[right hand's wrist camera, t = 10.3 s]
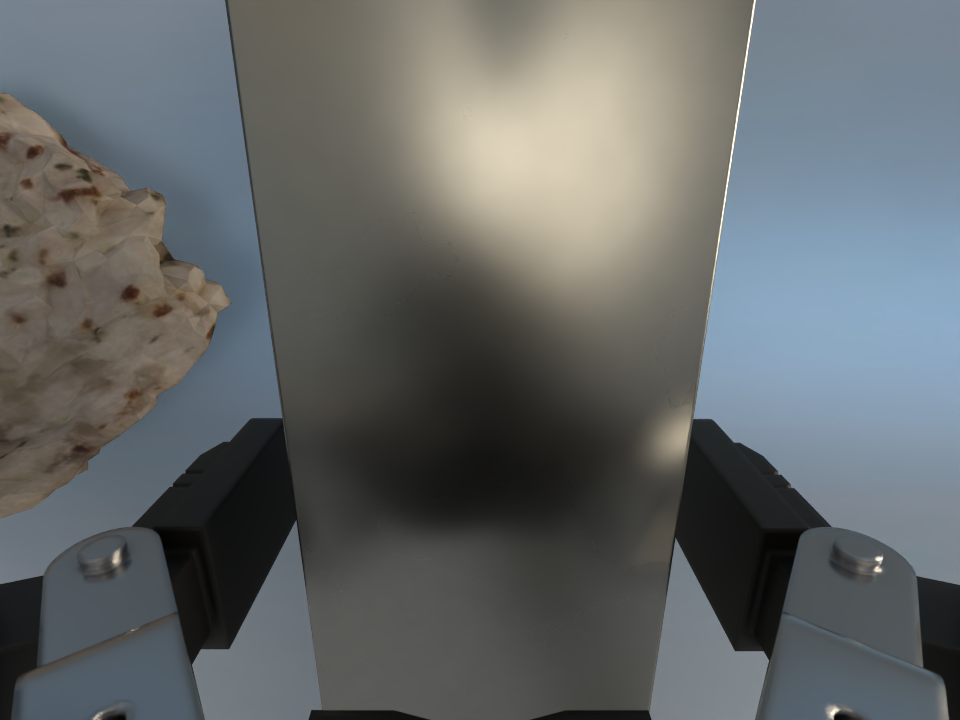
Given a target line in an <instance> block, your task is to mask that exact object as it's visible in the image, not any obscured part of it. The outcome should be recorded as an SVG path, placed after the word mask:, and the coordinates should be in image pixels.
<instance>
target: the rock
mask: <svg viewBox="0 0 960 720" xmlns="http://www.w3.org/2000/svg"><path fill="white" fill-rule="evenodd" d="M165 207H166V203H165V200H164V197H163V195H161V194H159V193H157V192H155V191H153V190H151V189H149V188H144V189H140V190H135V191H130V190H129V189H128V187H127V186H126V183H125V181H124V180H123V179H122V177H121V176H120V175H118V174H116V173H115V172H113V171H111V170H110V169H108V168H106V167H105V166H103V165H101V164H99V163H98V162H96V161H94V160H93V159H91V158H89V157H87V156H85V155H83V154H81V153H79V152H77V151H75V150H74V149H72V148H70V147H69V146H68V145H67V143H66V142H65V140H64V139H63V137H62V136H61V135H60V134H59V133H58V132H57V131H56V130H55V129H53V128H52V127H51V126H50V125H49V124H48V123H47V122H46V121H45V120H44V119H42V118H41V117H40V116H39V115H38V114H37V113H36V112H34V111H32V110H29V109H28V108H27V107H25V106H24V105H23V104H21V103H20V102H19V101H17V100H16V99H14V98H13V97H12V96H10V95H9V94H0V518H3V517H6V516H9V515H12V514H15V513H18V512H21V511H24V510H28V509H31V508H33V507H34V506H36V505H37V504H38V503H40V502H41V501H42V500H44V499H45V498H46V497H48V496H49V495H50V494H51V493H52V492H53V491H54V490H56V489H57V488H59V487H61V486H63V485H65V484H67V483H68V482H69V481H70V480H71V479H72V478H73V477H75V476H76V475H78V474H80V473H82V472H84V471H86V470H88V460H90V459H91V458H92V457H94V456H95V455H97V454H98V453H99V452H100V448H101V447H103V446H104V445H106V444H107V443H109V442H110V441H112V440H114V439H115V438H117V437H118V436H119V435H121V434H122V433H123V432H124V431H126V430H127V429H128V428H130V427H131V426H132V425H133V424H135V423H136V422H137V421H139V420H140V419H141V418H142V417H143V416H145V415H146V414H147V413H148V412H149V411H150V410H152V409H153V408H154V407H155V406H156V398H157V397H158V394H160V393H162V392H164V391H166V390H168V389H170V388H171V387H173V386H175V385H177V384H178V383H179V382H180V381H181V380H182V378H183V377H184V376H185V375H186V373H187V372H188V371H189V370H190V369H191V367H192V366H193V365H194V364H195V363H196V361H197V360H198V359H199V358H200V357H201V356H202V355H203V353H204V352H205V351H206V350H207V348H208V345H209V343H210V340H211V338H212V335H213V331H214V328H215V324H216V319H217V313H219V312H220V311H221V310H223V309H224V308H225V307H227V306H229V305H230V304H232V303H231V302H230V300H229V298H228V297H227V295H226V293H225V291H224V290H223V288H222V286H221V285H219V284H218V283H216V282H215V281H210V280H205V277H204V273H203V271H202V269H201V268H200V267H199V266H197V265H193V264H190V263H186V262H182V261H178V260H174V259H173V258H172V256H171V255H170V253H169V251H168V250H167V248H166V247H165V245H164V244H163V243H162V236H163V225H164V215H165Z"/></svg>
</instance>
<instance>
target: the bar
mask: <svg viewBox="0 0 960 720" xmlns="http://www.w3.org/2000/svg"><path fill="white" fill-rule="evenodd" d="M225 2H226V9H227V17H228V24H229V31H230V39H231V46H232V53H233V60H234V68H235V75H236V82H237V90H238V97H239V104H240V112H241V119H242V126H243V133H244V141H245V148H246V155H247V163H248V170H249V177H250V184H251V192H252V199H253V206H254V214H255V221H256V228H257V236H258V243H259V250H260V257H261V265H262V272H263V279H264V287H265V294H266V301H267V309H268V316H269V323H270V330H271V338H272V345H273V352H274V360H275V367H276V374H277V381H278V389H279V396H280V403H281V411H282V418H283V425H284V433H285V440H286V447H287V454H288V462H289V469H290V476H291V484H292V491H293V498H294V506H295V513H296V520H297V527H298V535H299V542H300V549H301V557H302V564H303V571H304V578H305V586H306V593H307V600H308V608H309V615H310V622H311V630H312V637H313V644H314V651H315V659H316V666H317V673H318V681H319V688H320V695H321V703H322V710H395V711H399V712H403V713H407V714H410V715H414V716H418V717H422V718H425V719H429V720H531V719H535V718H538V717H542V716H546V715H550V714H553V713H557V712H561V711H565V710H648V711H649V710H650V704H651V697H652V690H653V684H654V677H655V670H656V664H657V657H658V650H659V644H660V637H661V630H662V623H663V617H664V610H665V603H666V597H667V590H668V583H669V577H670V570H671V563H672V557H673V550H674V543H675V537H676V530H677V523H678V517H679V510H680V503H681V496H682V490H683V483H684V476H685V470H686V463H687V456H688V450H689V443H690V436H691V430H692V423H693V416H694V410H695V403H696V396H697V389H698V383H699V376H700V369H701V363H702V356H703V349H704V343H705V336H706V329H707V323H708V316H709V309H710V303H711V296H712V289H713V283H714V276H715V269H716V262H717V256H718V249H719V242H720V236H721V229H722V222H723V216H724V209H725V202H726V196H727V189H728V182H729V176H730V169H731V162H732V156H733V149H734V142H735V135H736V129H737V122H738V115H739V109H740V102H741V95H742V89H743V82H744V75H745V69H746V62H747V55H748V49H749V42H750V35H751V29H752V22H753V15H754V8H755V2H756V0H225Z"/></svg>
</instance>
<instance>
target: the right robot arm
mask: <svg viewBox="0 0 960 720" xmlns="http://www.w3.org/2000/svg"><path fill="white" fill-rule="evenodd" d="M295 521H296V513H295V506H294V498H293V491H292V484H291V476H290V469H289V462H288V454H287V447H286V440H285V433H284V425H283V418H252V419H250V420H249V421H248V422H247V423H246V424H245V426H244V427H243V428H242V429H241V430H240V431H239V432H238V433H237V434H236V435H235V437H234V438H233V439H232V440H231V441H230V442H223V443H221V444H219V445H217V446H216V447H214V448H212V449H210V450H209V451H207V452H205V453H203V454H202V455H200V456H199V457H198V458H197V459H196V460H195V461H194V462H193V464H192V465H191V466H190V467H189V468H188V469H187V470H186V473H185V474H182V475H181V476H180V477H179V478H178V479H177V480H176V481H175V482H174V483H173V487H169V489H168V490H167V491H166V492H165V493H164V494H163V495H162V496H161V497H160V498H159V499H158V500H157V501H156V502H155V503H154V504H153V505H152V506H151V507H150V508H149V509H148V510H147V511H146V512H145V513H144V515H143V516H142V517H141V518H140V519H139V520H138V521H137V522H136V523H135V524H134V525H133V526H132V527H125V528H118V529H113V530H109V531H106V532H102V533H99V534H96V535H94V536H91V537H89V538H87V539H84V540H82V541H80V542H78V543H77V544H75V545H73V546H71V547H70V548H68V549H67V550H65V551H64V552H63V553H61V554H60V555H59V556H58V557H57V558H55V559H54V560H53V561H52V563H51V564H50V565H49V566H48V568H47V569H46V571H45V573H44V576H39V577H34V578H29V579H24V580H19V581H14V582H10V583H5V584H0V720H205V718H204V714H203V710H202V705H201V701H200V697H199V693H198V688H197V684H196V680H195V676H194V672H193V668H192V664H193V662H194V660H195V658H196V657H197V655H198V653H199V651H200V650H201V649H230V647H231V645H232V643H233V641H234V639H235V637H236V635H237V633H238V631H239V629H240V627H241V625H242V623H243V622H244V620H245V618H246V616H247V614H248V612H249V610H250V608H251V606H252V604H253V602H254V600H255V598H256V596H257V594H258V593H259V591H260V589H261V587H262V585H263V583H264V581H265V579H266V577H267V575H268V573H269V571H270V569H271V567H272V565H273V564H274V562H275V560H276V558H277V556H278V554H279V552H280V550H281V548H282V546H283V544H284V542H285V540H286V538H287V536H288V535H289V533H290V531H291V529H292V527H293V525H294V523H295ZM676 539H677V541H678V543H679V545H680V547H681V549H682V551H683V553H684V555H685V556H686V558H687V560H688V562H689V564H690V566H691V568H692V570H693V572H694V574H695V576H696V577H697V579H698V581H699V583H700V585H701V587H702V589H703V591H704V593H705V595H706V597H707V598H708V600H709V602H710V604H711V606H712V608H713V610H714V612H715V614H716V616H717V618H718V619H719V621H720V623H721V625H722V627H723V629H724V631H725V633H726V635H727V637H728V639H729V640H730V642H731V644H732V646H733V648H734V650H735V651H764V652H765V654H766V656H767V657H768V659H769V664H768V668H767V672H766V676H765V680H764V684H763V688H762V693H761V697H760V701H759V705H758V710H757V714H756V718H755V720H960V585H957V584H952V583H947V582H942V581H937V580H932V579H927V578H922V577H918V576H916V573H915V571H914V569H913V568H912V566H911V565H910V564H909V563H908V561H907V560H906V559H905V558H903V557H902V556H901V555H900V554H899V553H897V552H896V551H895V550H893V549H892V548H890V547H889V546H887V545H885V544H883V543H882V542H880V541H878V540H876V539H873V538H871V537H869V536H866V535H864V534H861V533H858V532H854V531H851V530H847V529H842V528H835V527H831V526H830V525H829V524H828V523H827V522H826V520H825V519H824V518H823V517H822V516H821V515H820V514H819V513H818V512H817V511H816V510H815V509H814V508H813V507H812V506H811V505H810V504H809V503H808V502H807V501H806V500H805V499H804V498H803V497H802V496H801V495H800V494H799V493H798V492H797V491H796V490H795V489H794V488H791V484H790V483H789V482H788V481H787V480H786V479H785V478H784V477H783V476H782V475H778V471H777V470H776V469H775V468H774V467H773V466H772V465H771V464H770V463H769V462H768V461H767V460H766V459H765V458H764V457H763V456H762V455H760V454H758V453H757V452H755V451H753V450H751V449H750V448H748V447H746V446H744V445H743V444H741V443H734V442H733V441H732V440H731V439H730V438H729V437H728V436H727V435H726V434H725V433H724V431H723V430H722V429H721V428H720V427H719V426H718V425H717V424H716V423H715V422H714V421H713V420H712V419H693V423H692V430H691V436H690V443H689V450H688V456H687V463H686V470H685V476H684V483H683V490H682V496H681V503H680V510H679V517H678V523H677V530H676ZM309 720H429V719H425V718H422V717H418V716H414V715H410V714H407V713H403V712H399V711H395V710H312V711H311V714H310V717H309ZM531 720H651V717H650V714H649V711H648V710H565V711H561V712H557V713H553V714H550V715H546V716H542V717H538V718H535V719H531Z"/></svg>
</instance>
